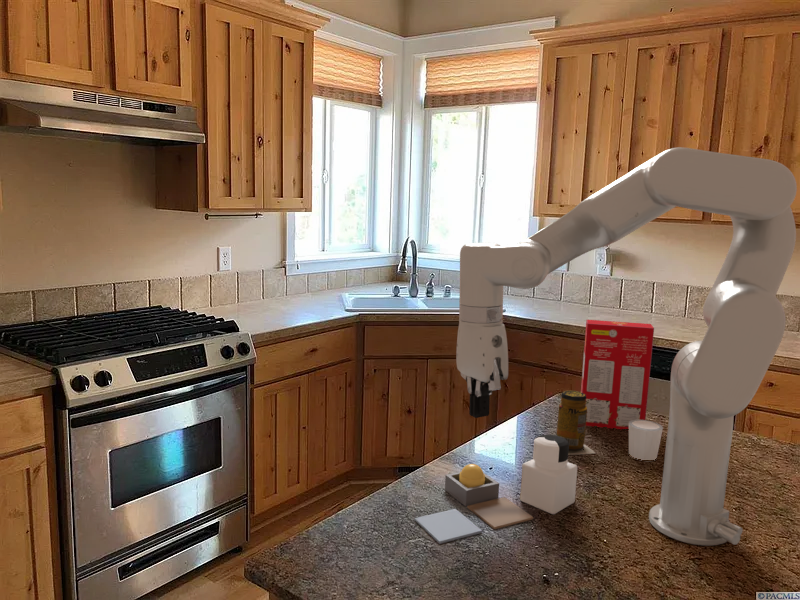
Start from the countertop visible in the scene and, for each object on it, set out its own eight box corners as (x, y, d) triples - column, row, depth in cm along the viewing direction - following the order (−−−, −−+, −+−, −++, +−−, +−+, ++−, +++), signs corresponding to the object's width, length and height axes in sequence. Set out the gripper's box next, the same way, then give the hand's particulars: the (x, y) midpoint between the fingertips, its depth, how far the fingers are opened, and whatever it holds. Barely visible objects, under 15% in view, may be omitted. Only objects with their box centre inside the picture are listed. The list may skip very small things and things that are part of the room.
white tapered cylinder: (632, 446, 142) (635, 416, 141) (664, 455, 138) (667, 424, 137) (621, 456, 137) (623, 424, 136) (653, 465, 133) (656, 432, 132)
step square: (533, 519, 109) (533, 517, 109) (494, 529, 105) (494, 527, 105) (504, 499, 116) (504, 497, 116) (467, 507, 112) (467, 505, 112)
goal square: (481, 532, 104) (481, 530, 104) (439, 543, 100) (439, 541, 100) (455, 510, 111) (455, 508, 111) (414, 520, 107) (414, 518, 107)
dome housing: (498, 498, 116) (499, 483, 115) (465, 506, 112) (466, 490, 112) (476, 483, 122) (477, 468, 121) (444, 490, 119) (445, 474, 118)
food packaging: (641, 424, 157) (650, 323, 153) (644, 431, 152) (654, 328, 148) (578, 417, 160) (586, 319, 156) (579, 425, 155) (587, 323, 151)
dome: (489, 494, 116) (490, 467, 115) (467, 499, 114) (469, 471, 113) (474, 483, 120) (476, 458, 119) (453, 488, 118) (455, 462, 117)
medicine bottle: (541, 489, 120) (545, 428, 118) (575, 502, 115) (580, 439, 113) (519, 500, 115) (523, 437, 113) (553, 515, 110) (558, 449, 108)
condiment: (576, 439, 146) (580, 388, 144) (595, 453, 138) (600, 400, 136) (547, 441, 144) (550, 389, 142) (564, 456, 136) (568, 401, 134)
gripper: (525, 319, 107) (522, 424, 110) (474, 306, 120) (473, 401, 123) (488, 323, 103) (486, 432, 106) (440, 309, 117) (439, 407, 119)
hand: (479, 415), depth 115 cm, fingers closed
